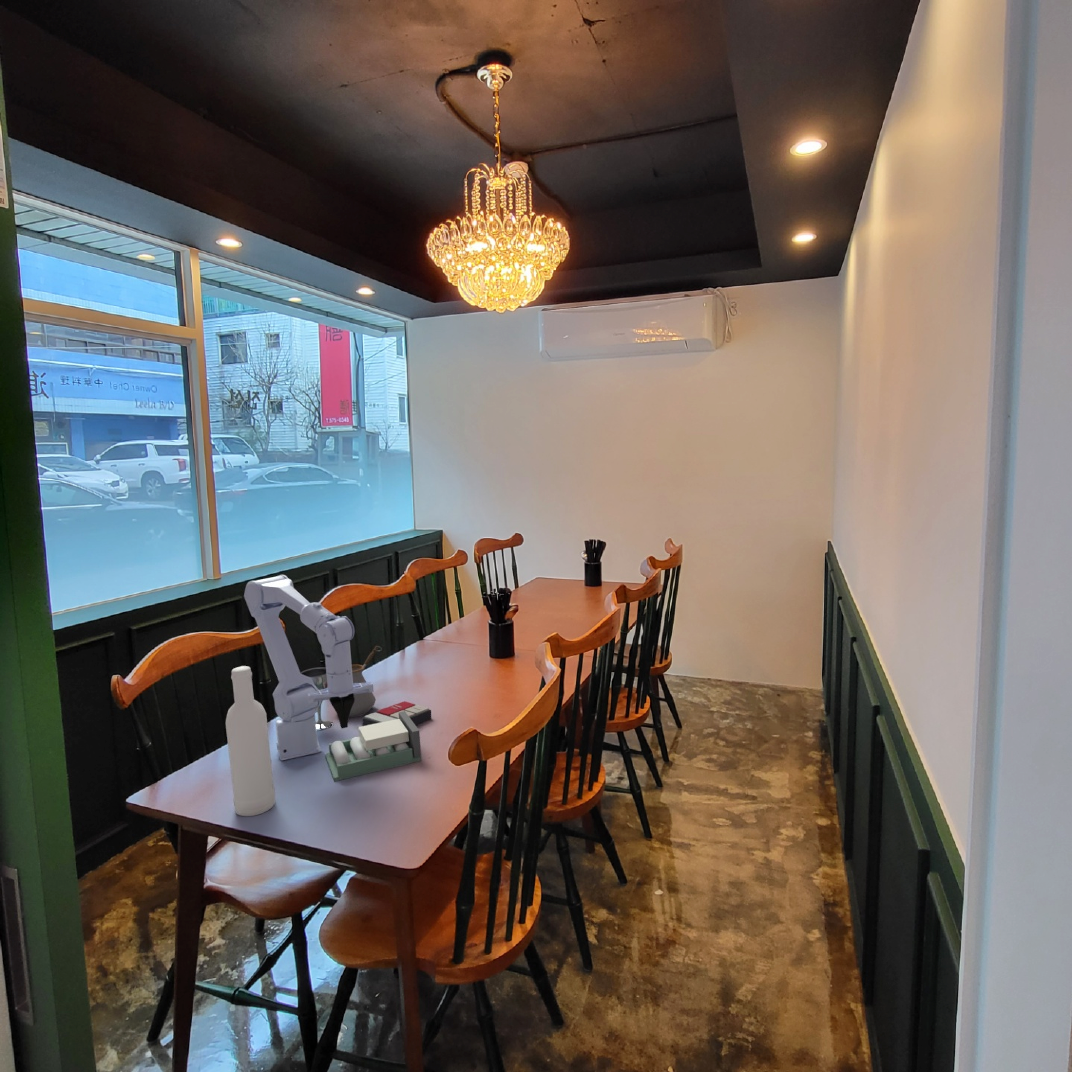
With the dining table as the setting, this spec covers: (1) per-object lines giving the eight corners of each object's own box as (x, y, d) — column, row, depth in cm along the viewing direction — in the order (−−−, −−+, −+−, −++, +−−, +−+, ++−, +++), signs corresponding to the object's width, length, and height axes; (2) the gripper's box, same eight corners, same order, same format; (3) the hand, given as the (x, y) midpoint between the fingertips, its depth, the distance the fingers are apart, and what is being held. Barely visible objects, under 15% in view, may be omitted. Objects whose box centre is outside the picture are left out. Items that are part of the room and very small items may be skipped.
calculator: (431, 707, 184) (389, 723, 172) (432, 722, 184) (389, 739, 172) (404, 699, 190) (361, 714, 178) (404, 714, 191) (362, 730, 179)
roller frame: (334, 781, 151) (331, 749, 150) (325, 756, 163) (322, 727, 162) (421, 760, 159) (419, 730, 158) (406, 738, 172) (404, 710, 171)
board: (366, 750, 156) (365, 740, 155) (359, 736, 164) (358, 727, 163) (408, 741, 160) (408, 731, 159) (399, 727, 168) (399, 718, 168)
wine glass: (324, 717, 188) (319, 665, 186) (341, 723, 183) (336, 670, 181) (299, 727, 182) (293, 673, 180) (315, 734, 177) (310, 679, 175)
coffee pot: (363, 721, 185) (359, 668, 183) (326, 718, 188) (321, 666, 186) (399, 693, 205) (395, 645, 203) (365, 691, 208) (361, 644, 206)
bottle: (263, 793, 147) (250, 660, 143) (283, 804, 142) (269, 666, 138) (227, 809, 141) (212, 670, 137) (246, 821, 136) (231, 677, 132)
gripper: (308, 681, 149) (313, 739, 151) (374, 669, 155) (378, 725, 157) (304, 672, 155) (310, 728, 157) (368, 661, 161) (372, 715, 163)
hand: (343, 726), depth 157 cm, fingers closed
